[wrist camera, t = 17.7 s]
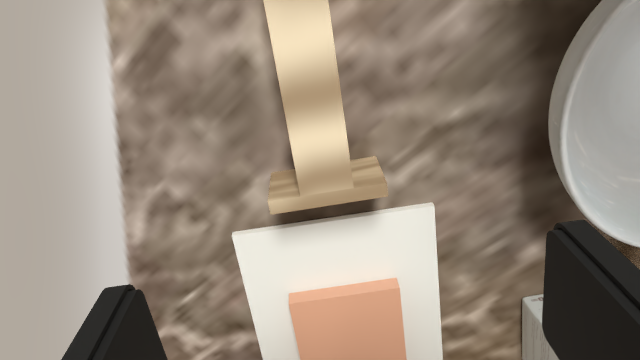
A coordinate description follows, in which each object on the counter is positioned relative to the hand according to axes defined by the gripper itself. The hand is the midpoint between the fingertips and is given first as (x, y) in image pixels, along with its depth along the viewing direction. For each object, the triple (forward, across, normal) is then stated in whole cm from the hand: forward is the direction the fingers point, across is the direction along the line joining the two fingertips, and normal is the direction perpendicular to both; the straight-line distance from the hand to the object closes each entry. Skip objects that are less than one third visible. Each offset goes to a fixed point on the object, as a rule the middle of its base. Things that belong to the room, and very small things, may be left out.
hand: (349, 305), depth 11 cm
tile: (+23, 0, +17) cm, 29 cm away
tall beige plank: (+25, +1, 0) cm, 25 cm away
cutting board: (+25, 0, +20) cm, 32 cm away
